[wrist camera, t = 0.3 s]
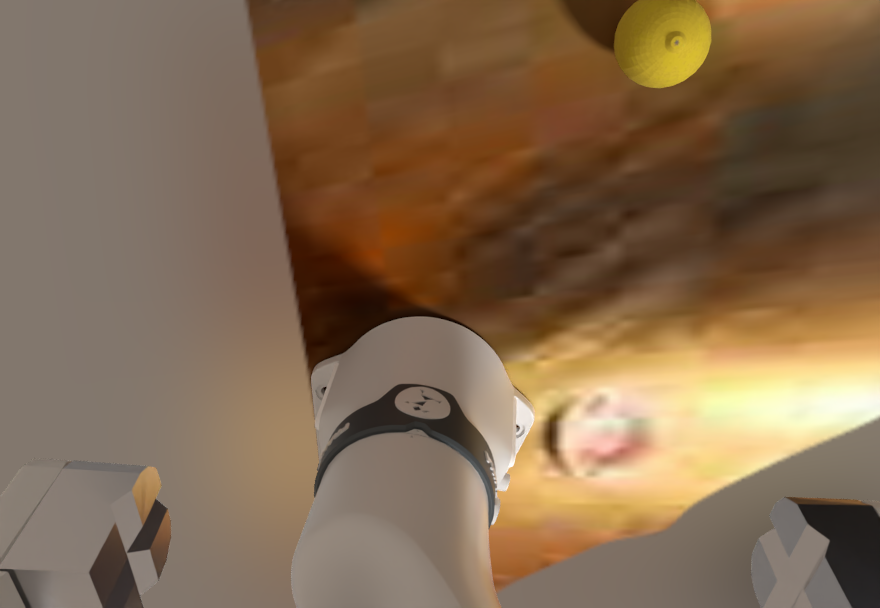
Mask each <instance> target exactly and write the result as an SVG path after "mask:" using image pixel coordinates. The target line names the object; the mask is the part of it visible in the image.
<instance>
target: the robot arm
mask: <svg viewBox="0 0 880 608" xmlns="http://www.w3.org/2000/svg"><path fill="white" fill-rule="evenodd" d="M311 386H312V396H313V406H314V416H315V428H316V435H317V445H318V455H319V464H318V468H317V471H318V473H317V476H316V480H315V487H314V497H315V499H314V502H313V504H312V507H311V510H310V513H309V515H308V518H307V521H306V523H305V526H304V529H303V532H302V534H301V537H300V540H299V542H298V545H297V548H296V550H295V554H294V557H293V562H292V570H291V584H292V592H293V597H294V600H295V604H296V607H297V608H502V607H501V605H500V603H499V600H498V597H497V595H496V592H495V588H494V584H493V578H492V570H491V561H490V550H489V528H490V525H493V524H494V523H495V521H496V519H497V516H498V513H499V509H500V499H499V498H498V497H497V490H500V491H506V490H507V488H508V485H509V482H510V475H509V474H507V471H508V469H509V467H512V466H513V465H514V462H515V456H516V454H517V452H518V451H519V449H520V447H521V445H522V443H523V441H524V439H525V438H526V436H527V434H528V432H529V430H530V428H531V426H532V424H533V422H534V416H535V410H534V407H533V406H532V404H531V403H530V402H529V401H528V399H527V398H526V397H524V396H523V395H522V394H521V393H520V392H519V391H518V390H517V389H515V388H514V387H513V385H512V383H511V382H510V380H509V378H508V375H507V373H506V371H505V369H504V366H503V364H502V362H501V361H500V359H499V357H498V356H497V354H496V353H495V352H494V350H493V349H492V348H491V347H490V346H489V345H488V344H487V343H486V342H485V341H484V340H483V339H482V338H480V337H479V336H478V335H476V334H475V333H473V332H472V331H470V330H469V329H467V328H465V327H463V326H461V325H459V324H456V323H453V322H451V321H447V320H444V319H439V318H433V317H419V316H418V317H405V318H400V319H396V320H392V321H389V322H386V323H384V324H381V325H379V326H377V327H375V328H374V329H372V330H370V331H369V332H367V333H366V334H365V335H363V336H362V337H361V338H360V339H359V340H358V341H357V342H356V343H355V344H354V345H353V346H352V347H351V348H349V349H348V350H347V351H346V352H344V353H343V354H340V355H337V356H334V357H331V358H329V359H326V360H324V361H322V362H320V363H318V364H317V365H316V366H315V367H314V369H313V372H312V376H311ZM323 387H327V388H326V391H325V390H324V389H323ZM516 424H517V425H519V426H518V427H517V428H516ZM161 486H162V485H161V482H160V479H159V475H158V472H157V469H156V468H154V467H150V466H139V465H126V464H111V463H100V462H87V461H67V460H52V459H37V458H34V459H33V460H31V461H30V462H28V463H27V464H25V465H24V466H22V467H21V468H20V470H19V471H18V472H17V474H16V475H15V477H14V478H13V479H12V481H11V482H10V484H9V485H8V486H7V488H6V489H5V490H4V492H3V493H2V495H1V496H0V608H144V607H143V604H142V600H141V597H140V596H141V595H142V594H143V593H144V592H146V591H147V590H148V589H149V588H150V587H152V586H153V585H154V584H155V583H156V582H158V581H159V579H160V576H161V573H162V571H163V568H164V566H165V563H166V561H167V556H168V551H169V545H170V540H171V520H170V516H169V512H168V508H166V507H165V506H164V505H163V504H161V503H160V502H159V501H158V500H157V499H156V497H157V495H158V492H159V490H160V488H161ZM770 518H771V521H772V523H773V525H774V527H775V528H774V529H772V530H771V531H769V532H768V533H766V534H764V535H763V536H761V537H760V538H759V539H758V541H757V544H756V546H755V548H754V551H753V553H752V570H751V576H752V580H753V586H754V590H755V594H756V596H757V599H758V601H759V604H760V607H761V608H880V501H864V500H863V501H858V500H850V499H825V498H796V497H784V498H782V499H781V500H779V501H778V502H776V504H775V505H774V508H773V510H772V511H771V514H770Z"/></svg>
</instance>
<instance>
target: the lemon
mask: <svg viewBox="0 0 880 608" xmlns="http://www.w3.org/2000/svg"><path fill="white" fill-rule="evenodd" d="M710 43H711V26H710V22H709V18H708V16H707V14H706V13H705V11H704V9H703V7H702V6H701V5H700V4H699V3H698V2H697V1H696V0H638V1H636V2H635V3H634V4H633V5H632V6H631V7H630V8H629V9H628V10H627V11H626V12H625V13H624V15H623V17H622V18H621V20H620V21H619V23H618V26H617V29H616V32H615V39H614V51H615V57H616V60H617V62H618V64H619V66H620V68H621V69H622V71H623V72H624V73H625V74H626V76H627V77H629V78H630V79H631V80H633V81H634V82H636V83H637V84H640V85H643V86H646V87H652V88H663V87H669V86H673V85H675V84H678V83H680V82H682V81H684V80H686V79H687V78H688V77H690V76H691V75H692V74H694V73H695V72H696V70H697V69H698V68H699V67H700V66H701V65H702V63H703V62H704V60H705V58H706V56H707V54H708V51H709V47H710Z"/></svg>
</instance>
